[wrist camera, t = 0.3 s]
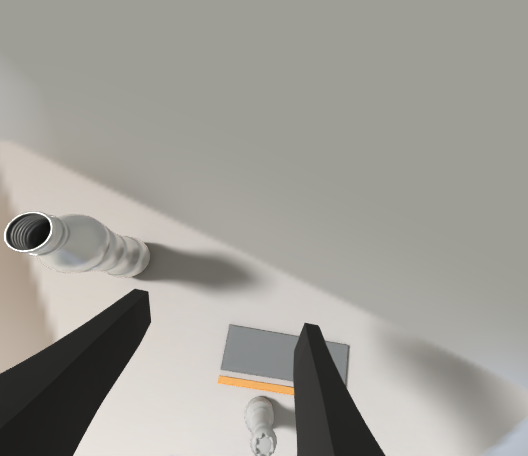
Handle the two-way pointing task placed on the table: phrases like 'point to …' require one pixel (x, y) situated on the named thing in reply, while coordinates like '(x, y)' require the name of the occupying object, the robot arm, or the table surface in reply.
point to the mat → (270, 353)
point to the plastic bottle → (76, 244)
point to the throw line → (256, 385)
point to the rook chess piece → (261, 426)
